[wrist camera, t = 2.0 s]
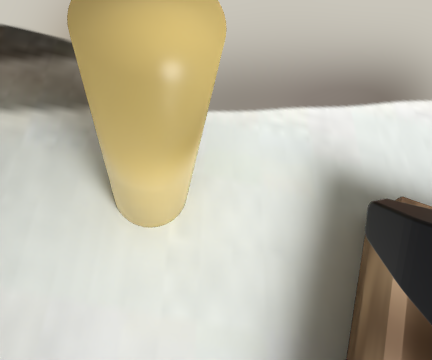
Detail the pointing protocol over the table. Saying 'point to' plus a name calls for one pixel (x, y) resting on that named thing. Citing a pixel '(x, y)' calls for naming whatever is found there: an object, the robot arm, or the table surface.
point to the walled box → (386, 314)
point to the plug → (148, 94)
